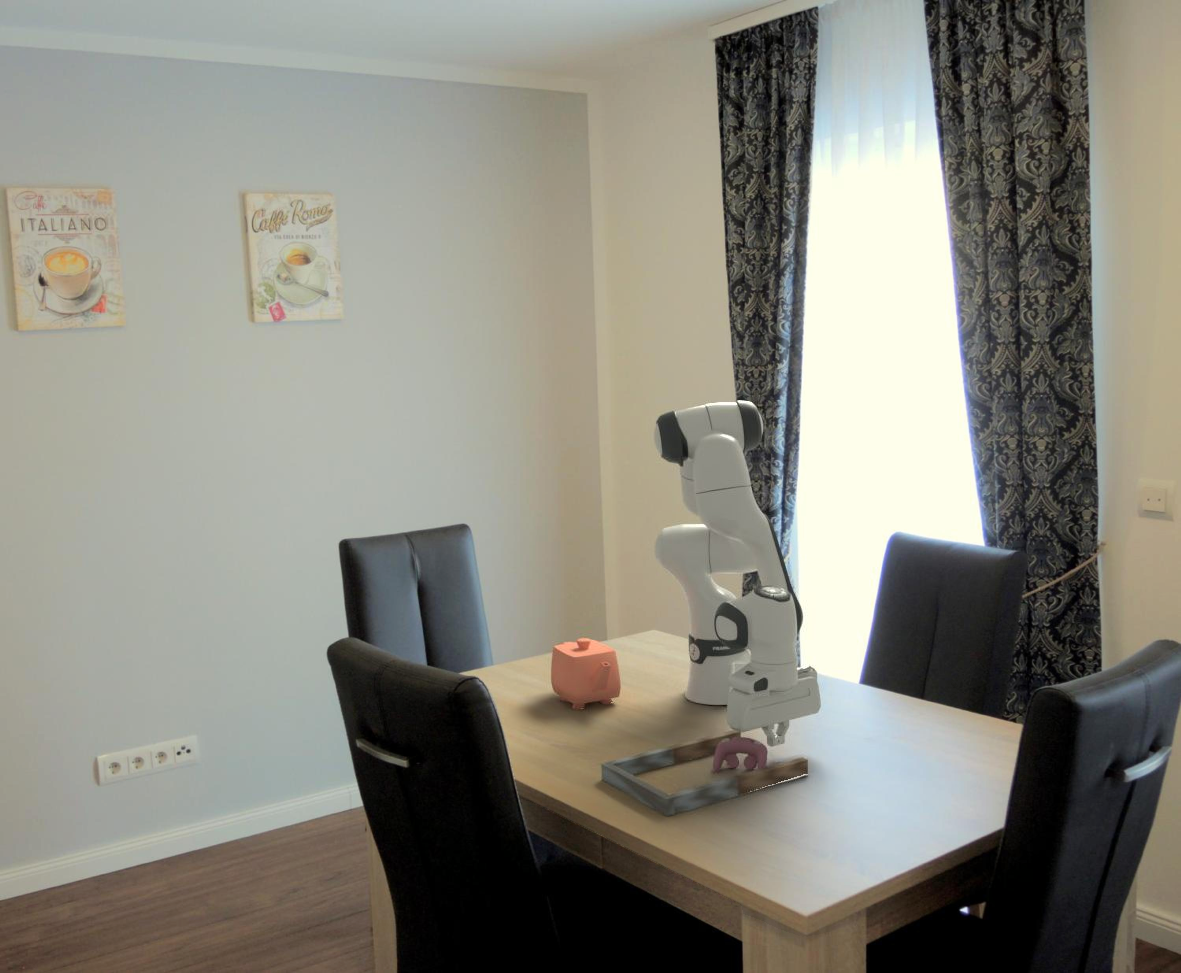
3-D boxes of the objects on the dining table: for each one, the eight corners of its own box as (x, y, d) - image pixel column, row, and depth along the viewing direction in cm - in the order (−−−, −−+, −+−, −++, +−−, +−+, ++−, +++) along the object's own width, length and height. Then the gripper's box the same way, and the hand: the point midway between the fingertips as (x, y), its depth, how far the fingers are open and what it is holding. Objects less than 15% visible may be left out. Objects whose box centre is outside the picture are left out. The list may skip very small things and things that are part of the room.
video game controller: (768, 778, 212) (770, 740, 215) (764, 775, 208) (766, 736, 211) (715, 774, 216) (718, 736, 218) (710, 771, 211) (713, 733, 214)
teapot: (634, 709, 251) (632, 646, 250) (581, 719, 246) (578, 655, 244) (592, 684, 271) (589, 626, 269) (542, 693, 266) (539, 633, 264)
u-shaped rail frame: (736, 744, 227) (735, 729, 226) (808, 775, 209) (807, 759, 208) (601, 779, 211) (601, 763, 211) (667, 816, 193) (666, 799, 193)
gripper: (805, 660, 224) (806, 729, 226) (721, 679, 214) (723, 751, 216) (827, 667, 219) (828, 737, 221) (742, 686, 209) (744, 760, 210)
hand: (775, 744), depth 218 cm, fingers closed
